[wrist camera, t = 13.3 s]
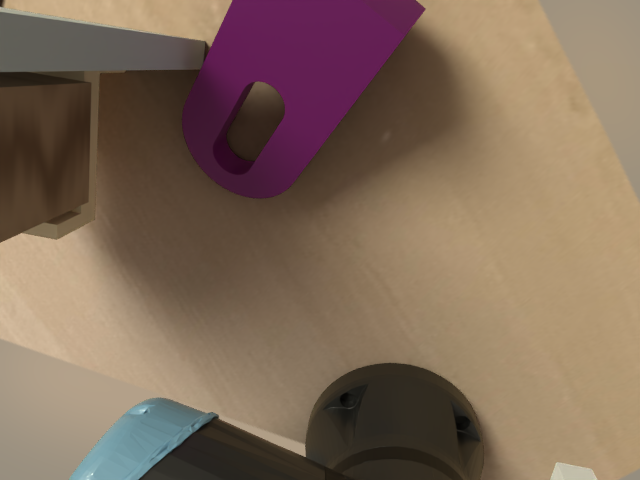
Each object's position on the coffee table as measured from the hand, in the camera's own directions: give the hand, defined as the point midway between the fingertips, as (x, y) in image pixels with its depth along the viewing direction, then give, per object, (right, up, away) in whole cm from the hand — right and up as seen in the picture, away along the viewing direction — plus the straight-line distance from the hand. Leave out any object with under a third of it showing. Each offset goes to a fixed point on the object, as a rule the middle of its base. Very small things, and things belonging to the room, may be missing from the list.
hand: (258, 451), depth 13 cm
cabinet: (-17, +12, +24) cm, 32 cm away
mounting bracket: (-1, +17, +29) cm, 33 cm away
